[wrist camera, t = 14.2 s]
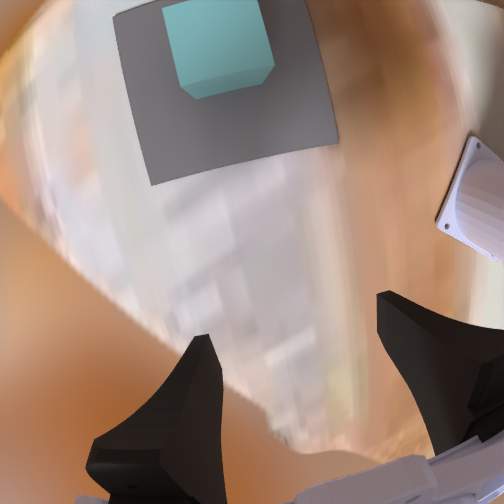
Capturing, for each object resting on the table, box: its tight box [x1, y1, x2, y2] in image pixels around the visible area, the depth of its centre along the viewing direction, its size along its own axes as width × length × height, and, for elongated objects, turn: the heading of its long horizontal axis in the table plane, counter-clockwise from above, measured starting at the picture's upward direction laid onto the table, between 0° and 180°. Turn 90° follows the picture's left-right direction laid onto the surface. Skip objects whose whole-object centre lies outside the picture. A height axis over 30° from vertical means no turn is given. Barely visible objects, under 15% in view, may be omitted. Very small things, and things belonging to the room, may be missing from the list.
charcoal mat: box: [112, 0, 339, 186], centre depth 17 cm, size 12×12×1 cm
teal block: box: [162, 0, 275, 99], centre depth 14 cm, size 4×4×6 cm
